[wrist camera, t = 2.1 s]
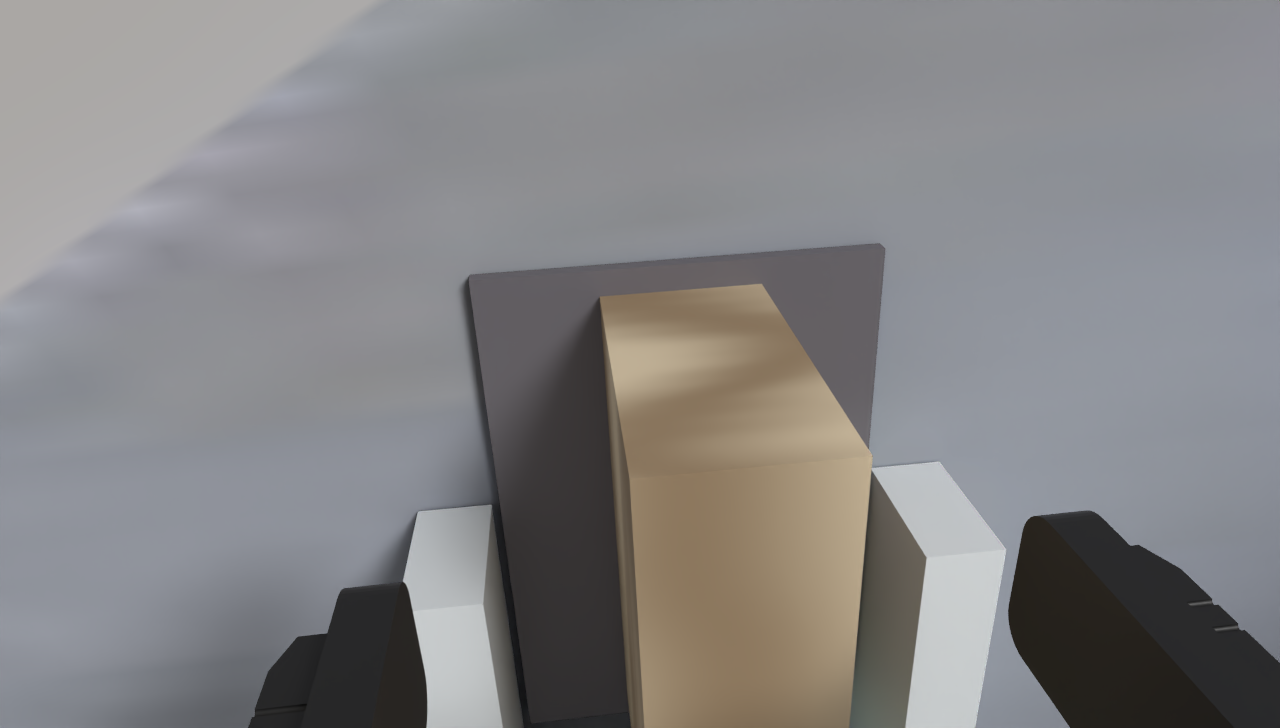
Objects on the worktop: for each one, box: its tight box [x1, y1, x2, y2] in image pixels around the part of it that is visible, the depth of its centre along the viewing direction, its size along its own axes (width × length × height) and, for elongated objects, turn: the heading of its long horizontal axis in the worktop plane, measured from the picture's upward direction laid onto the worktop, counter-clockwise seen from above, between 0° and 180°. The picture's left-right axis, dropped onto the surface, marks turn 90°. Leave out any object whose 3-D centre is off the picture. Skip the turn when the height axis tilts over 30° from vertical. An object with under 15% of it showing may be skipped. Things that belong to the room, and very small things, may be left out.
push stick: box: [600, 284, 873, 728], centre depth 15 cm, size 3×10×6 cm, turn 3°
